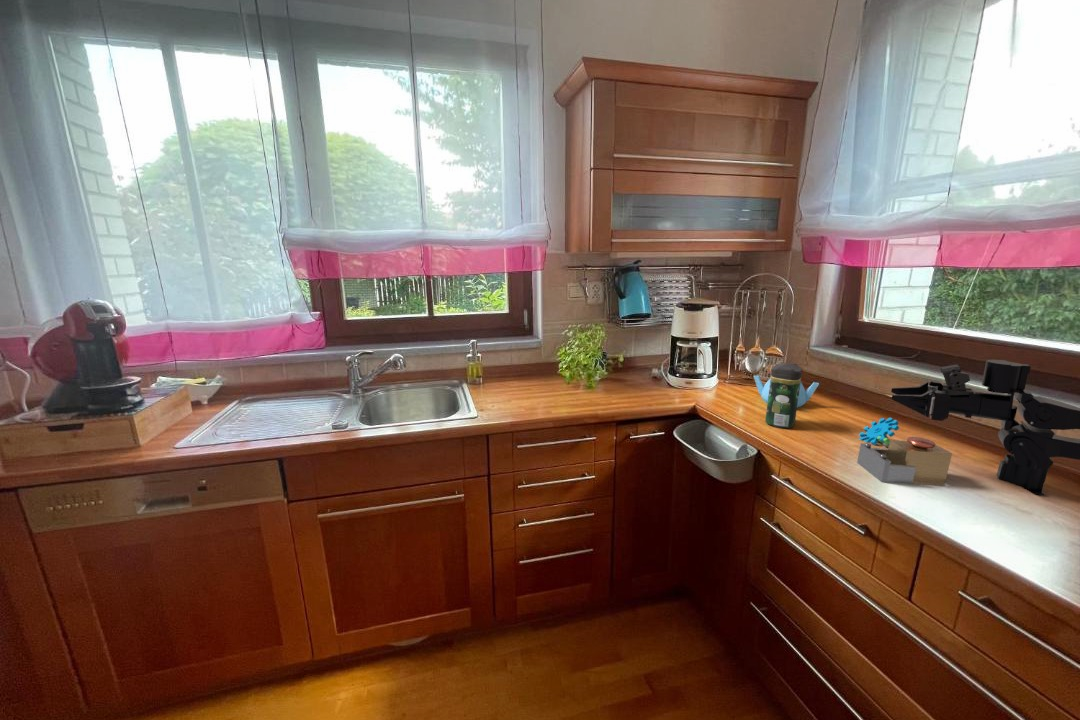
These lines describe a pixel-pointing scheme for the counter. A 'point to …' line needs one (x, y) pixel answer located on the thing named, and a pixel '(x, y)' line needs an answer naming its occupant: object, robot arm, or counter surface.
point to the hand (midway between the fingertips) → (891, 393)
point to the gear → (879, 431)
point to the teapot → (803, 394)
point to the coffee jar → (783, 395)
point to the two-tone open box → (888, 467)
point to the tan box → (921, 458)
